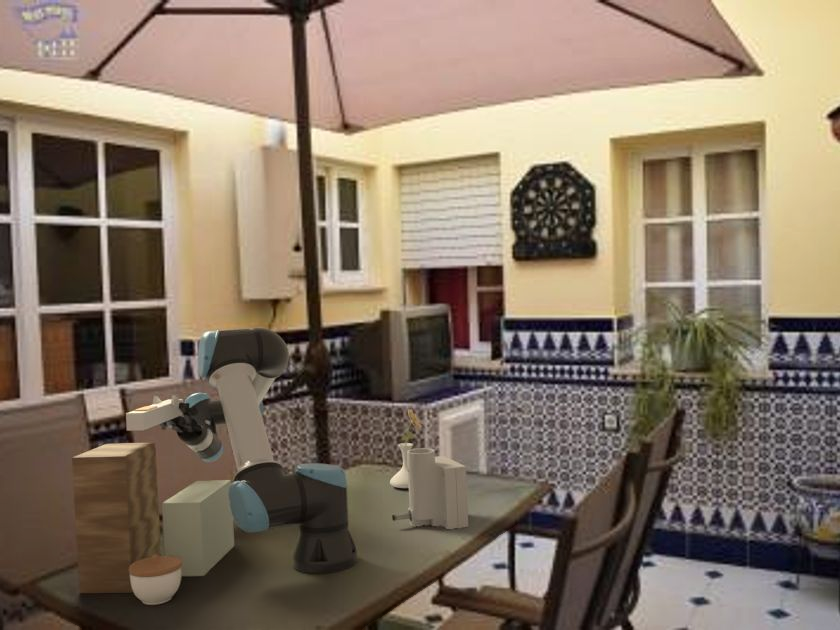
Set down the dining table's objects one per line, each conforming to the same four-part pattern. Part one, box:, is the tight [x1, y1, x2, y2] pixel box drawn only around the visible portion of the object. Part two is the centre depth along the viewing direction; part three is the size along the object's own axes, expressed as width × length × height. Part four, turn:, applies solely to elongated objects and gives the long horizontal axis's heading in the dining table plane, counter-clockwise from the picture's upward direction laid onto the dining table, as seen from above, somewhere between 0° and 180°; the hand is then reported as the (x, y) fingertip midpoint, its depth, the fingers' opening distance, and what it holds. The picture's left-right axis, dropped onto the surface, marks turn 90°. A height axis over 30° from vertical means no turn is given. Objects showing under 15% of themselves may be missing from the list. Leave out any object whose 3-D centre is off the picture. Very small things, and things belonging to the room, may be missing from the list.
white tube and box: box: [391, 447, 469, 530], centre depth 221 cm, size 16×19×20 cm
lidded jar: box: [129, 555, 182, 606], centre depth 173 cm, size 11×11×9 cm
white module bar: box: [125, 398, 184, 432], centre depth 200 cm, size 25×4×4 cm, turn 175°
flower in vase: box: [389, 408, 423, 489], centre depth 265 cm, size 13×11×25 cm
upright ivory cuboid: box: [161, 479, 235, 577], centre depth 198 cm, size 22×9×17 cm, turn 175°
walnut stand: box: [71, 442, 162, 594], centre depth 186 cm, size 16×13×30 cm
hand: (163, 400), depth 204 cm, fingers closed on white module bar, 4 cm apart
